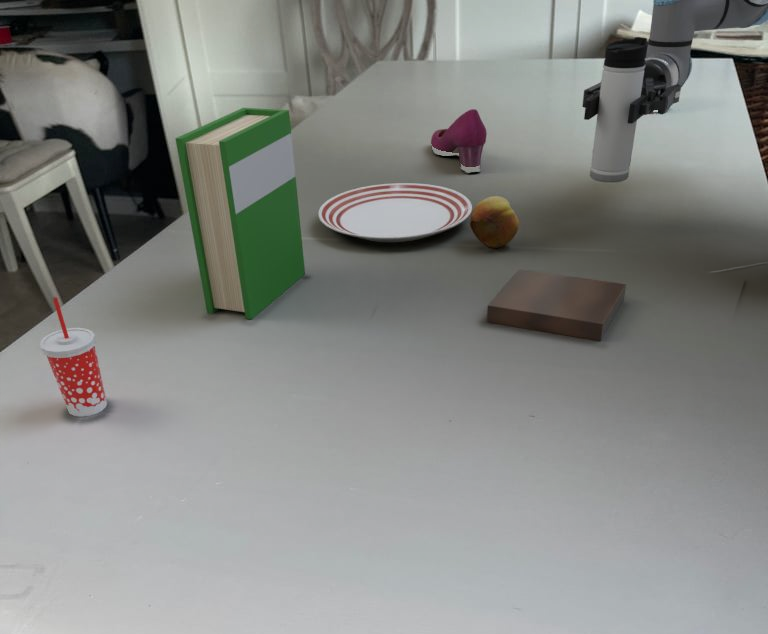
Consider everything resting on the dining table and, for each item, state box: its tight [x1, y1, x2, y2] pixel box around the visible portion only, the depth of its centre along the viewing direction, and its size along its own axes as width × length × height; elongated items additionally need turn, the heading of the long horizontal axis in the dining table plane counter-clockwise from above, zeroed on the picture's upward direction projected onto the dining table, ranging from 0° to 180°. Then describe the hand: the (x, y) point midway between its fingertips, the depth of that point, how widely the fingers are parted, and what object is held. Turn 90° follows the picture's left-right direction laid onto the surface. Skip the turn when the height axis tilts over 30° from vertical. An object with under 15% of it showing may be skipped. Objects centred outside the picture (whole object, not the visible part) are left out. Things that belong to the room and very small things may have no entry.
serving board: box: [486, 268, 627, 342], centre depth 114 cm, size 16×14×2 cm
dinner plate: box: [317, 182, 473, 243], centre depth 145 cm, size 28×27×3 cm
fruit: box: [469, 195, 520, 249], centre depth 133 cm, size 8×8×8 cm
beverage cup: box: [39, 296, 108, 418], centre depth 94 cm, size 6×6×14 cm
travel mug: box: [589, 36, 648, 183], centre depth 128 cm, size 6×7×20 cm
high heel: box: [430, 108, 488, 174], centre depth 174 cm, size 9×26×12 cm, turn 18°
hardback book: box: [174, 107, 306, 320], centre depth 116 cm, size 18×7×24 cm, turn 158°
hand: (609, 112), depth 124 cm, fingers closed on travel mug, 6 cm apart
